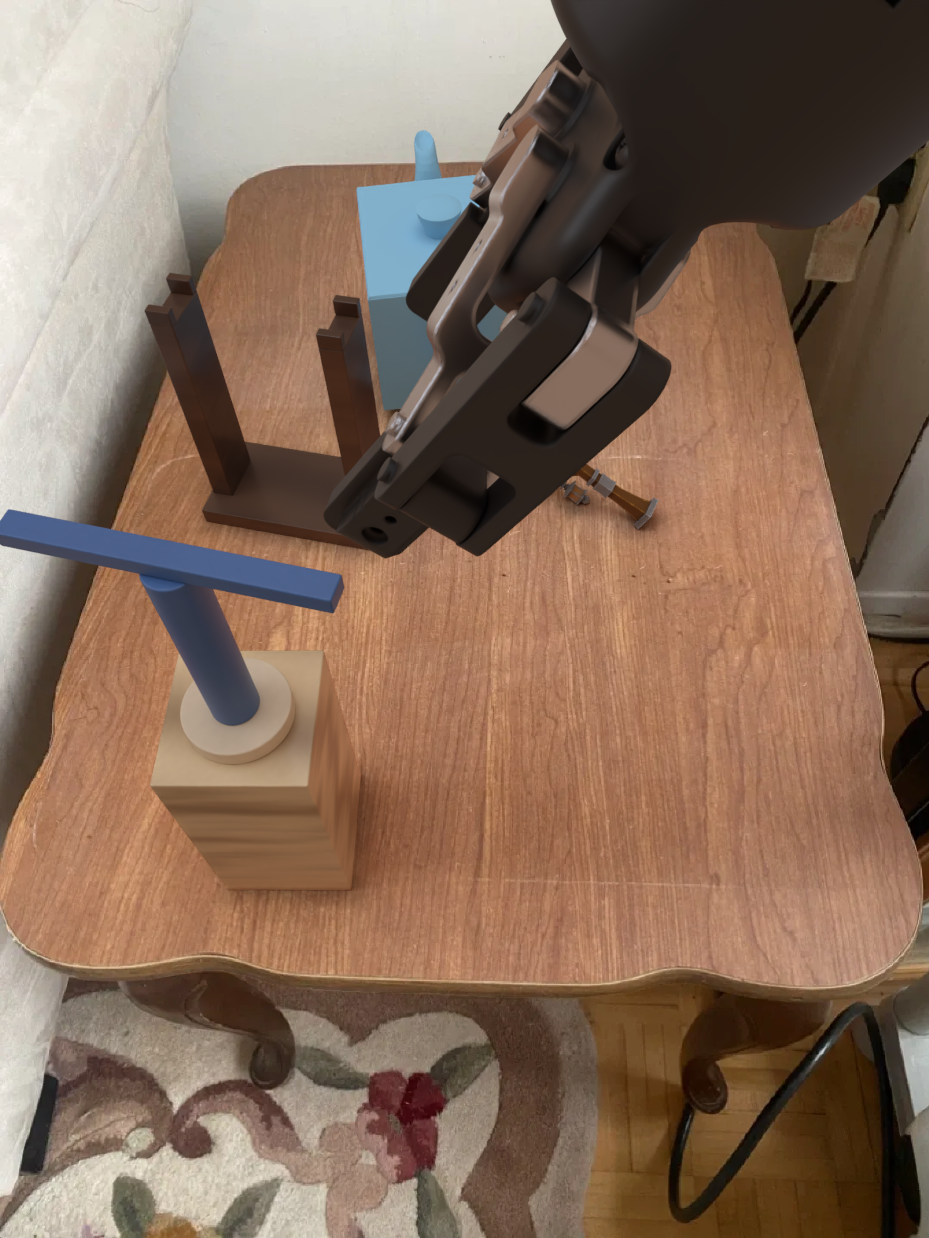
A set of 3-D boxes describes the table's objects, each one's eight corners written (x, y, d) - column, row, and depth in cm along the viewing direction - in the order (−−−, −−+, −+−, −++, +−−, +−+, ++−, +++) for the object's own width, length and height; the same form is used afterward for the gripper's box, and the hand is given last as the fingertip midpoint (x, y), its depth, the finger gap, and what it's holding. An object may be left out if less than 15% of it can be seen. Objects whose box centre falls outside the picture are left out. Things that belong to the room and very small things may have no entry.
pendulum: (358, 796, 41) (311, 648, 31) (87, 732, 43) (-38, 574, 33) (393, 698, 44) (359, 531, 34) (135, 641, 46) (33, 470, 36)
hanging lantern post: (537, 467, 69) (563, 433, 65) (628, 527, 70) (660, 497, 66) (527, 485, 68) (553, 451, 64) (620, 545, 69) (652, 516, 65)
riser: (351, 890, 53) (308, 786, 41) (226, 889, 53) (148, 785, 42) (361, 774, 57) (324, 649, 45) (245, 774, 57) (178, 650, 46)
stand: (370, 550, 66) (334, 358, 52) (205, 521, 68) (128, 329, 54) (398, 477, 70) (371, 279, 56) (241, 451, 72) (177, 254, 58)
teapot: (535, 436, 72) (541, 280, 60) (388, 453, 71) (366, 299, 60) (494, 259, 84) (493, 101, 73) (369, 272, 84) (347, 116, 72)
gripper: (750, -471, 17) (350, 191, 29) (697, -205, 9) (180, 548, 21) (1014, -162, 20) (545, 326, 32) (1150, 252, 12) (457, 688, 24)
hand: (399, 415), depth 27 cm, fingers open, 8 cm apart
